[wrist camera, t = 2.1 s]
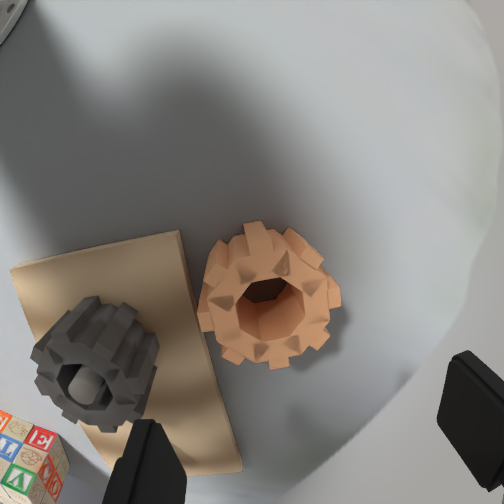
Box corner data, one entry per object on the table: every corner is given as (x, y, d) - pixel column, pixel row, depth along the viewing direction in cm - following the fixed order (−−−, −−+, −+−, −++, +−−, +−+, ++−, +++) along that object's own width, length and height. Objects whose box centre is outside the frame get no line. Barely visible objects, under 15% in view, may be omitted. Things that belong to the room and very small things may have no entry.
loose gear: (193, 232, 20) (182, 254, 15) (309, 212, 20) (334, 227, 15) (216, 335, 22) (214, 378, 17) (320, 316, 22) (342, 354, 17)
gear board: (20, 263, 19) (-38, 298, 12) (179, 229, 20) (154, 262, 13) (117, 464, 25) (103, 516, 18) (241, 459, 25) (246, 519, 19)
